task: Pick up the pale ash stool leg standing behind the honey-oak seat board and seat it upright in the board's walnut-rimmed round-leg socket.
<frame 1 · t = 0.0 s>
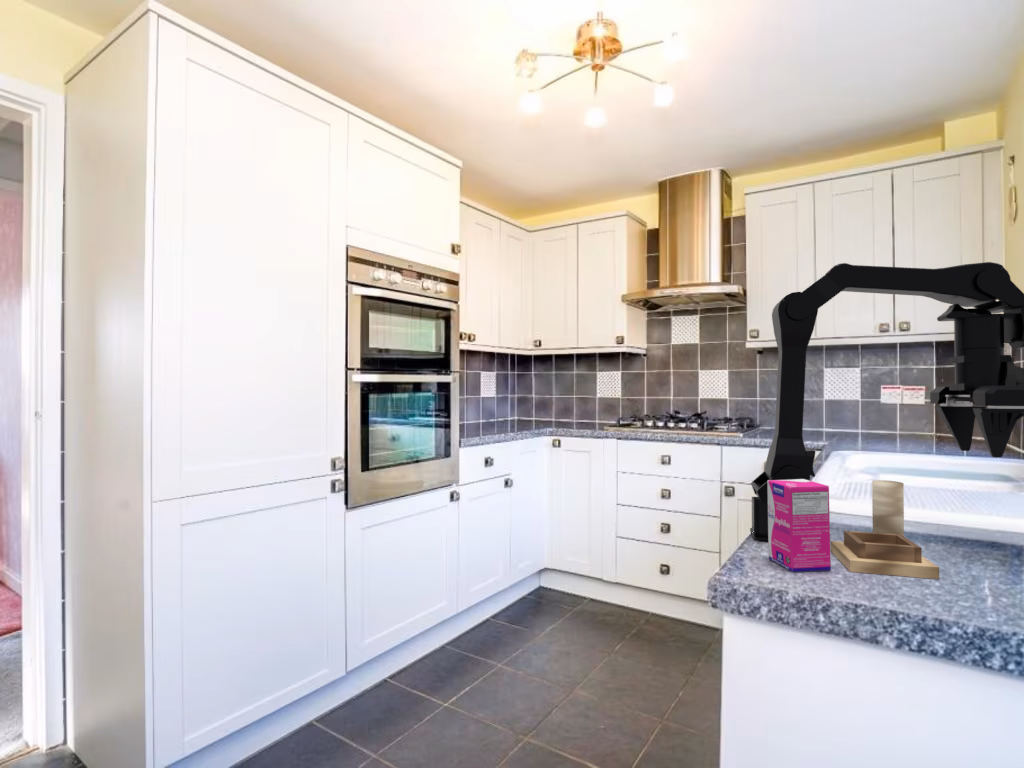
hand: (980, 453, 83), 15 cm above the countertop, fingers open, 9 cm apart
supplement box: (798, 566, 76), on the countertop
seat board: (880, 564, 77), on the countertop
stool leg: (888, 547, 85), on the countertop
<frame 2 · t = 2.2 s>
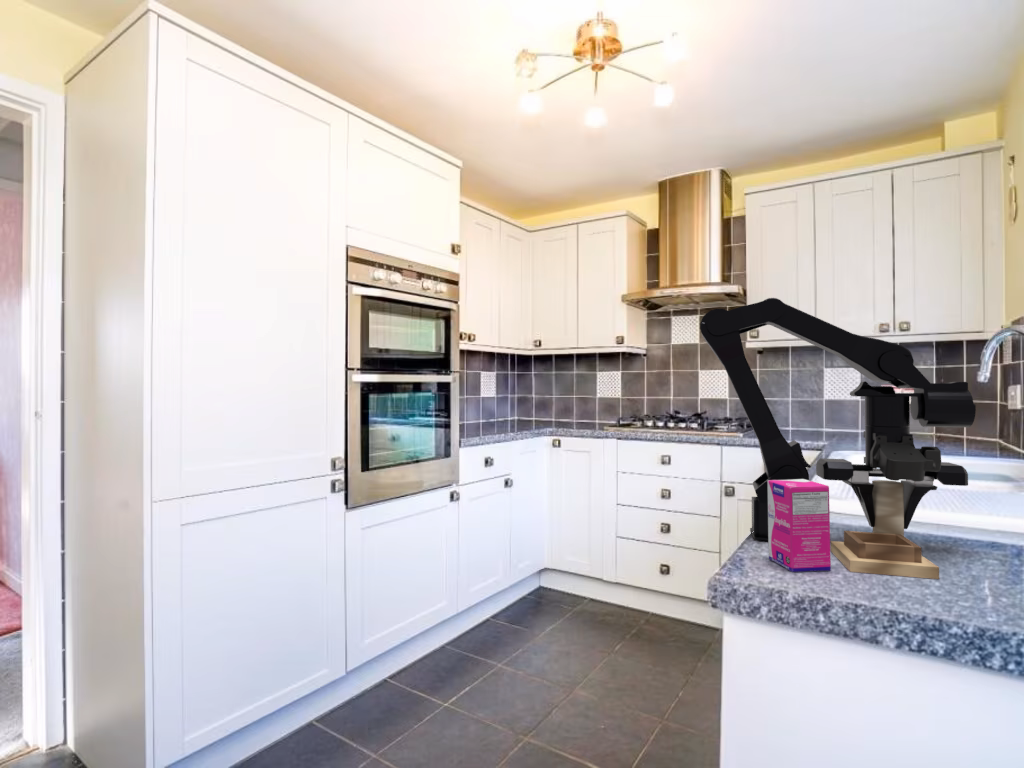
hand: (888, 527, 85), 3 cm above the countertop, fingers closed on stool leg, 4 cm apart
stool leg: (888, 547, 85), on the countertop, touching gripper
everything else where it was.
when the fingers open (5 cm above the countertop, at t = 6.4 s): stool leg stays where it is, resting on seat board.
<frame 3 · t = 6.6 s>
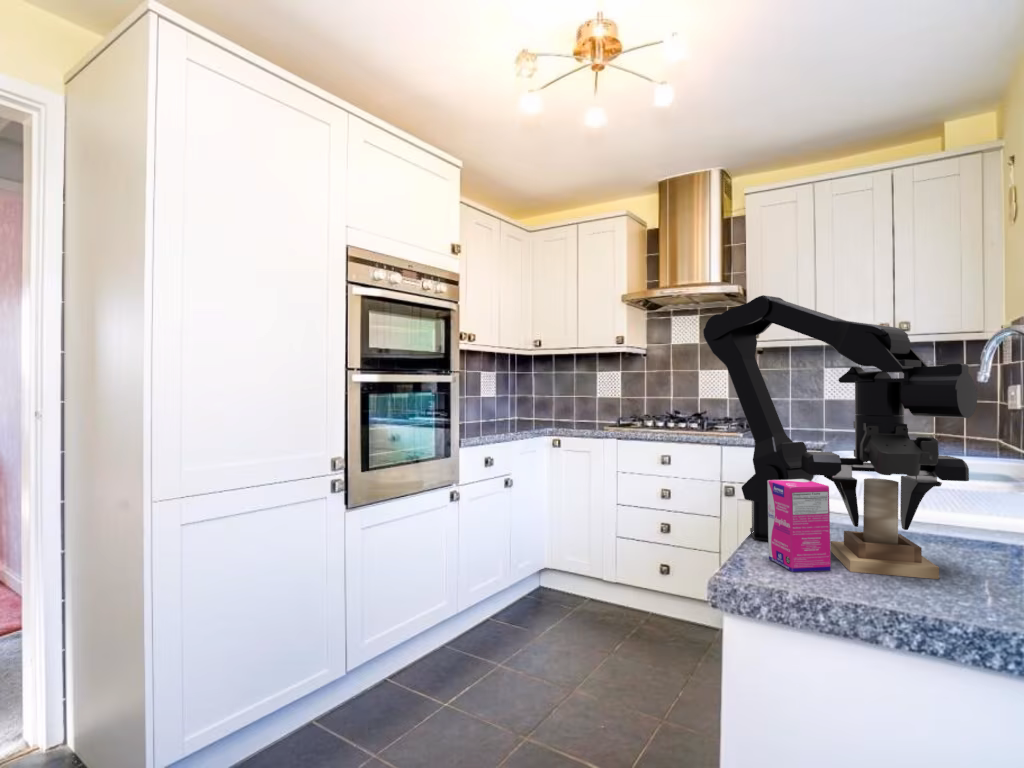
hand: (880, 527, 77), 5 cm above the countertop, fingers open, 6 cm apart
stool leg: (880, 552, 77), point 2 cm above the countertop, touching seat board
everything else where it was.
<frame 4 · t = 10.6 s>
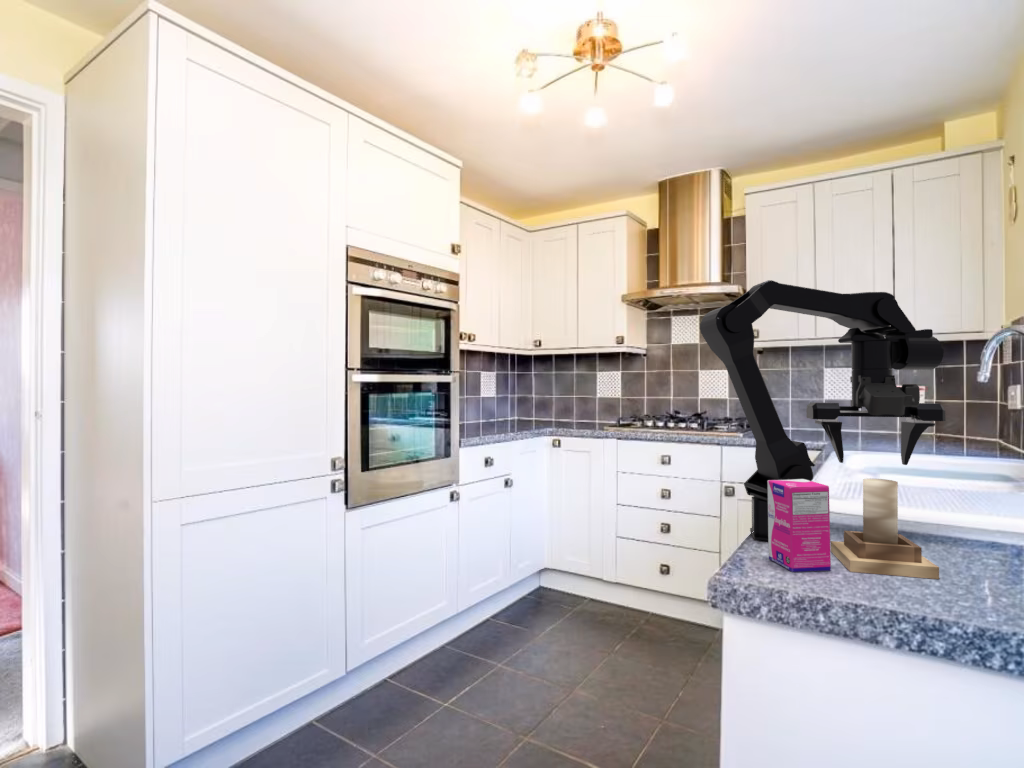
hand: (872, 463, 92), 12 cm above the countertop, fingers open, 9 cm apart
nothing on the countertop moved.
at the end: stool leg 0.0 cm off-centre on the seat board, point 1.5 cm above the seat board's base; stool leg tilted 1°; the gripper is holding nothing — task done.
